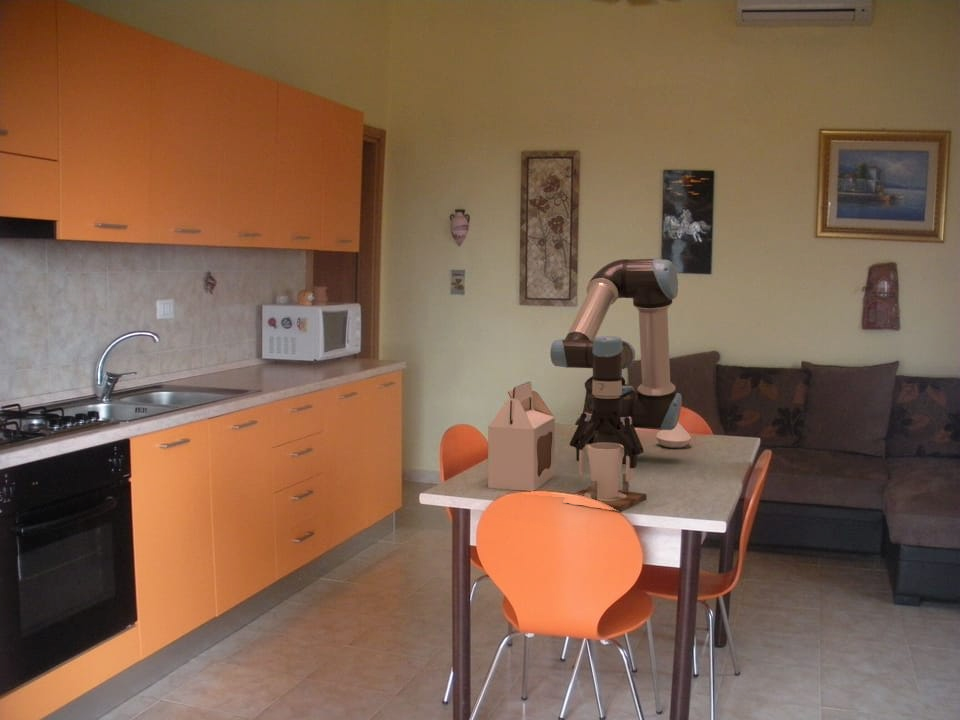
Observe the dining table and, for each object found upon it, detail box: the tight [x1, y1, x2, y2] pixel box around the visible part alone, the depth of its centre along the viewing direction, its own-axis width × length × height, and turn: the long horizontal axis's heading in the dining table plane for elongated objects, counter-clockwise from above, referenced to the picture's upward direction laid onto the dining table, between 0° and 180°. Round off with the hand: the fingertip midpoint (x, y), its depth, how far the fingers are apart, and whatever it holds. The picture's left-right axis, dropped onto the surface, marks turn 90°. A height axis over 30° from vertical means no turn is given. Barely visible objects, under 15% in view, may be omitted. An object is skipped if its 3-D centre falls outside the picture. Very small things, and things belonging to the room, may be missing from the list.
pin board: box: [572, 473, 647, 513], centre depth 246 cm, size 16×16×6 cm
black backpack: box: [579, 375, 630, 445], centre depth 332 cm, size 16×19×25 cm
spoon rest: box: [655, 421, 692, 449], centre depth 328 cm, size 24×12×7 cm, turn 170°
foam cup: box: [587, 443, 624, 498], centre depth 245 cm, size 10×9×13 cm
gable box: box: [487, 381, 556, 491], centre depth 268 cm, size 22×13×28 cm, turn 160°
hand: (605, 477), depth 246 cm, fingers open, 13 cm apart
